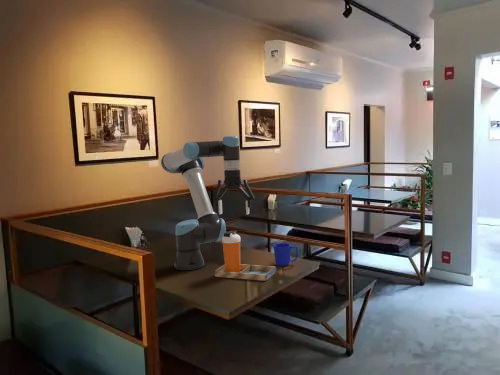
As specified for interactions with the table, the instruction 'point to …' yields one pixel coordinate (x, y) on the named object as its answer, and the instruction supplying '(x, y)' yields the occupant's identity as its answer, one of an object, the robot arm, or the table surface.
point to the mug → (283, 254)
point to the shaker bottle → (231, 251)
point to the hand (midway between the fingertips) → (234, 214)
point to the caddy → (257, 274)
